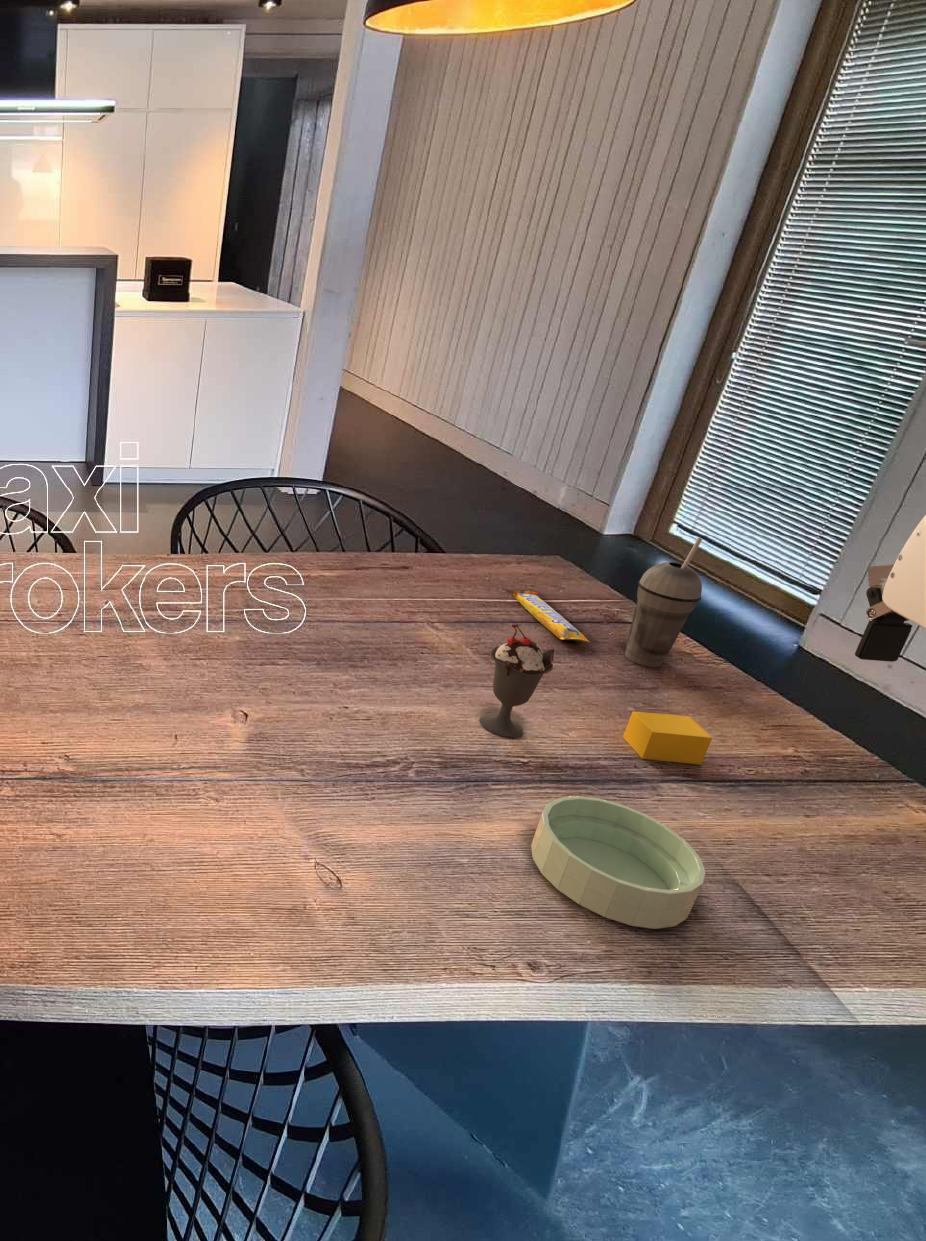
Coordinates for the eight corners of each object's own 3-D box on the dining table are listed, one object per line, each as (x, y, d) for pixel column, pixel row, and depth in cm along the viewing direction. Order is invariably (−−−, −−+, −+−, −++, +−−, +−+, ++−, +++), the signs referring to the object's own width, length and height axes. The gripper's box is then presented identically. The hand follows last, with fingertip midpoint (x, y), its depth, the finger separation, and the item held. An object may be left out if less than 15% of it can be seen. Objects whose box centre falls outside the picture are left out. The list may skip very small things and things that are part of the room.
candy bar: (508, 597, 140) (511, 587, 139) (534, 598, 140) (537, 589, 139) (561, 647, 125) (564, 636, 124) (590, 649, 124) (593, 638, 123)
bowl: (640, 841, 87) (655, 804, 85) (719, 942, 75) (738, 902, 73) (508, 825, 89) (520, 789, 87) (565, 922, 77) (581, 882, 75)
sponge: (679, 742, 103) (690, 716, 101) (701, 764, 99) (712, 737, 97) (622, 737, 104) (632, 710, 102) (641, 758, 100) (652, 731, 98)
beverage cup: (621, 641, 126) (664, 522, 119) (679, 660, 121) (728, 537, 113) (607, 657, 122) (650, 534, 114) (666, 677, 117) (716, 550, 109)
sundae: (460, 719, 107) (488, 619, 101) (492, 706, 110) (521, 608, 104) (509, 747, 102) (542, 643, 96) (541, 733, 105) (575, 631, 99)
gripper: (1170, 554, 61) (1060, 746, 67) (960, 483, 76) (888, 643, 83) (1047, 548, 62) (951, 736, 68) (866, 479, 78) (802, 637, 84)
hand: (917, 685), depth 75 cm, fingers open, 9 cm apart
